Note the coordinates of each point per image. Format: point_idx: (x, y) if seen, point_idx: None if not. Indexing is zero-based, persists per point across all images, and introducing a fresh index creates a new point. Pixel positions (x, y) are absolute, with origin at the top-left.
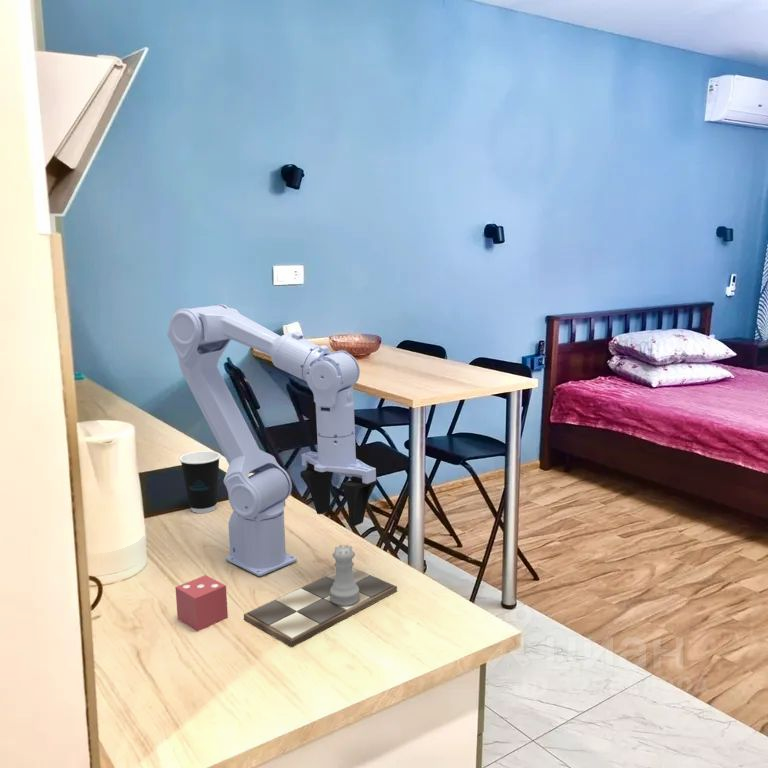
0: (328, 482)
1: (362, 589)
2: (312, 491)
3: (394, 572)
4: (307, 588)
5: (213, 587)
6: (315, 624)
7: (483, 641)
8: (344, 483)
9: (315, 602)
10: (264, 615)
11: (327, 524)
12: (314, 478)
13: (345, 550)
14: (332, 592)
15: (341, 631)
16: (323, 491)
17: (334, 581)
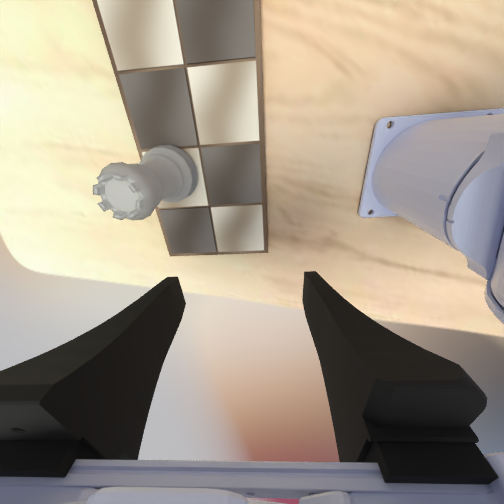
0: (328, 385)
1: (186, 216)
2: (343, 316)
3: (219, 282)
4: (249, 149)
5: None
6: (118, 61)
7: (11, 238)
8: (28, 410)
9: (197, 126)
10: None
11: (402, 317)
12: (356, 381)
13: (116, 198)
14: (163, 148)
15: (106, 107)
16: (323, 341)
17: (168, 164)
